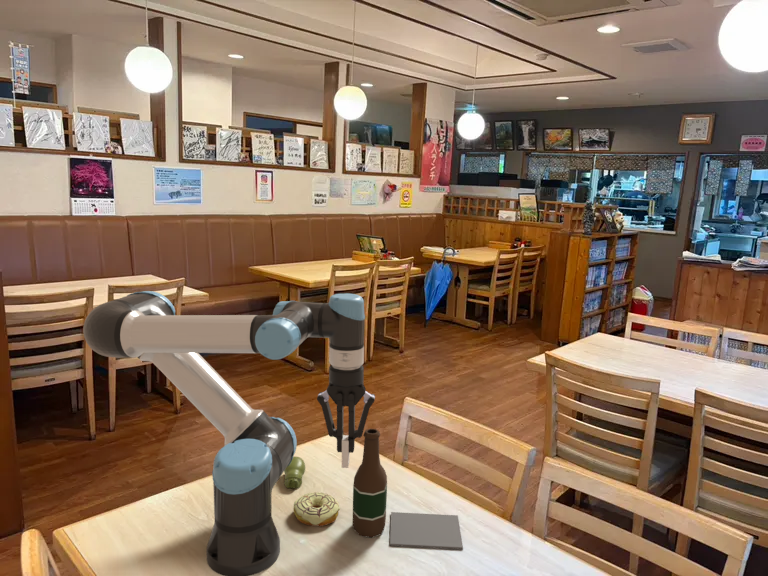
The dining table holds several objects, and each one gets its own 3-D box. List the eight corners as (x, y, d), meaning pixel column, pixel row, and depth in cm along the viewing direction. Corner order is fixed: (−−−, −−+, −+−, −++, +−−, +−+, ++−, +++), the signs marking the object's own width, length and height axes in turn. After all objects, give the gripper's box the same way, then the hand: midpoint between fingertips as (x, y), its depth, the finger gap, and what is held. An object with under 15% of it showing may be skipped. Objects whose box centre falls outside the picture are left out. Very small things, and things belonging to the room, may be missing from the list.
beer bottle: (350, 519, 132) (352, 424, 128) (382, 516, 134) (385, 422, 129) (354, 540, 125) (357, 439, 120) (388, 537, 126) (392, 438, 122)
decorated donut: (318, 535, 126) (318, 520, 126) (284, 518, 132) (284, 503, 132) (347, 514, 135) (347, 499, 134) (314, 498, 141) (314, 484, 140)
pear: (306, 452, 152) (303, 477, 143) (306, 468, 154) (303, 494, 145) (285, 452, 152) (281, 477, 142) (285, 468, 154) (281, 494, 144)
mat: (389, 545, 123) (390, 543, 123) (391, 513, 135) (391, 512, 135) (462, 549, 123) (463, 547, 123) (457, 517, 135) (457, 515, 134)
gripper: (314, 369, 119) (314, 472, 123) (375, 371, 118) (373, 474, 122) (319, 358, 126) (319, 455, 130) (377, 360, 125) (375, 457, 130)
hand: (345, 464), depth 126 cm, fingers closed
